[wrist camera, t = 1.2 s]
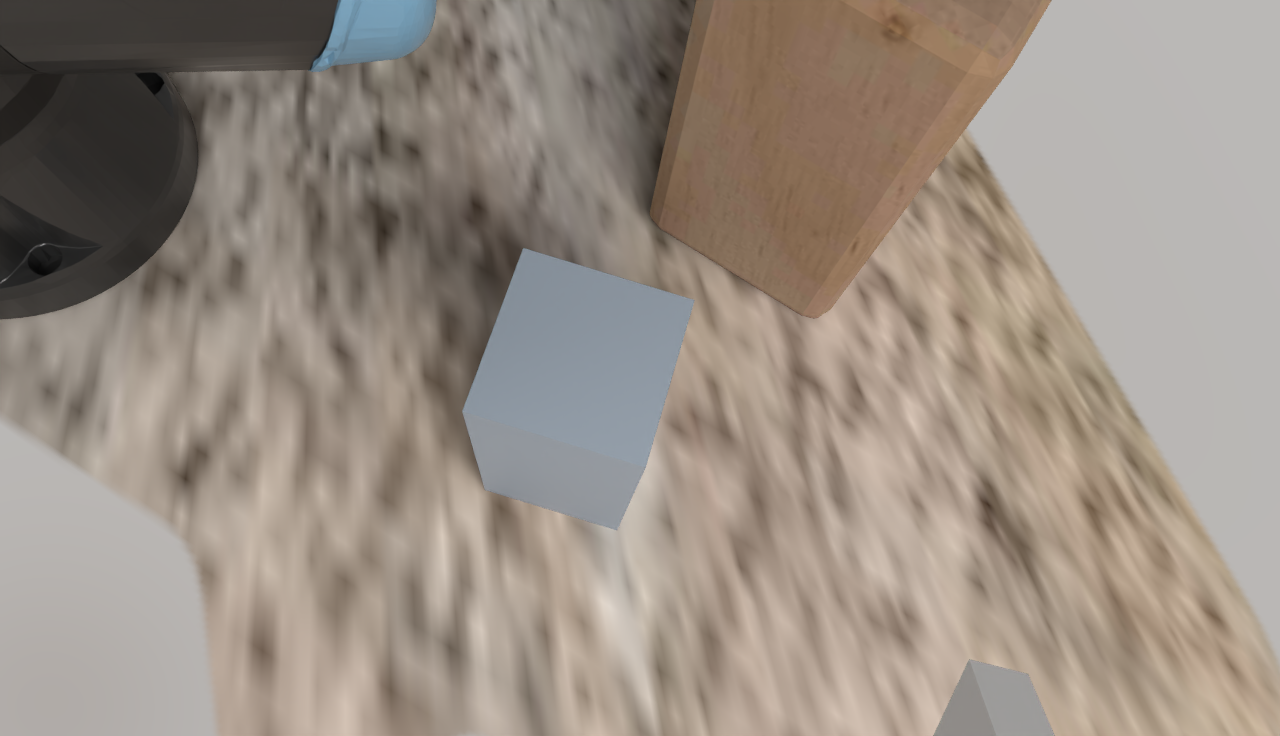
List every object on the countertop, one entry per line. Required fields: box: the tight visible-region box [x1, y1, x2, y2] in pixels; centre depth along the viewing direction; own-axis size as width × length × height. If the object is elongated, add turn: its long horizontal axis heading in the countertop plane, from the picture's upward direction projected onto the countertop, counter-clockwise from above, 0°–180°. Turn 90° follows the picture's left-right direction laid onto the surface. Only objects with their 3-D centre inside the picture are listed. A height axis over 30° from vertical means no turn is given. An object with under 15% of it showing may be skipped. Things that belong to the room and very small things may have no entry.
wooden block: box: [650, 0, 1051, 318], centre depth 37 cm, size 10×10×20 cm
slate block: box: [462, 248, 694, 530], centre depth 36 cm, size 6×6×12 cm
